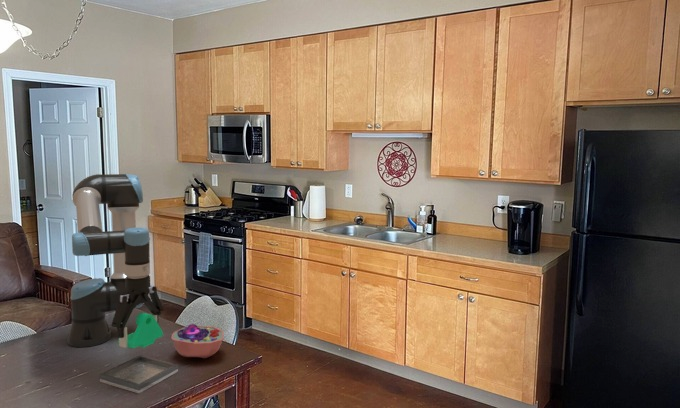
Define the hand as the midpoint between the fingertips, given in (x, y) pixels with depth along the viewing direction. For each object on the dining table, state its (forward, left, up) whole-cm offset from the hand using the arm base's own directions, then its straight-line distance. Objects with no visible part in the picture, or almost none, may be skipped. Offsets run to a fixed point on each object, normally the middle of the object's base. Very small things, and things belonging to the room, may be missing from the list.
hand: (139, 339), depth 163 cm
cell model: (+6, +22, -13) cm, 26 cm away
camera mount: (+1, 0, -1) cm, 1 cm away
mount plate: (0, 0, -13) cm, 13 cm away
